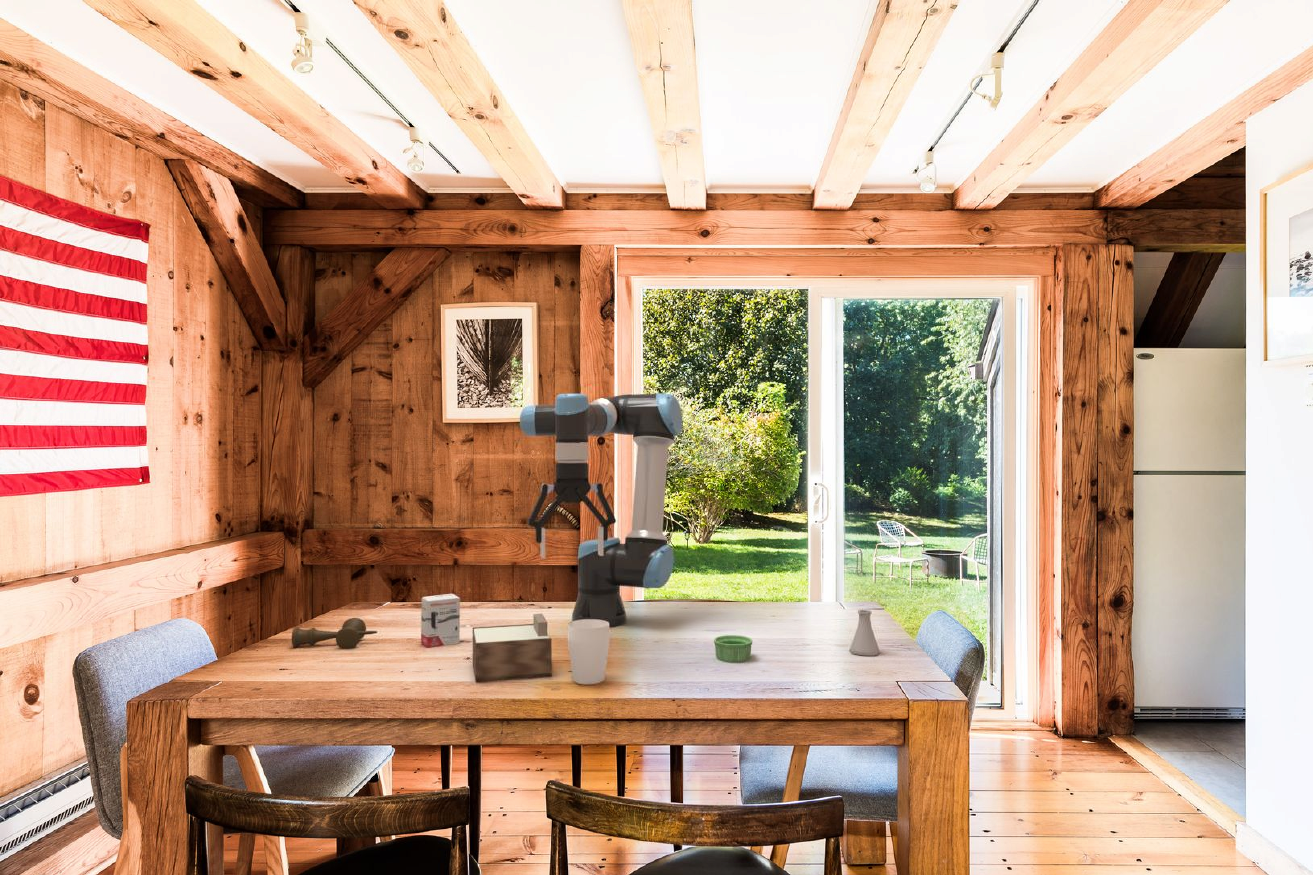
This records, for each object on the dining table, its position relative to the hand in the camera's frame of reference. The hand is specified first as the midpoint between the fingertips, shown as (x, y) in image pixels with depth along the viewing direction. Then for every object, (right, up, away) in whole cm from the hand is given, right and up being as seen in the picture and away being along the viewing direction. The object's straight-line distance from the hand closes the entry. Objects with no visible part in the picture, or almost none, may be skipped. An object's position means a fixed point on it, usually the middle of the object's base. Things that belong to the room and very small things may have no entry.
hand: (572, 556), depth 184 cm
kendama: (-61, -25, +18) cm, 68 cm away
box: (-13, -25, -4) cm, 28 cm away
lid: (-13, -17, -4) cm, 22 cm away
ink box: (-35, -25, +19) cm, 47 cm away
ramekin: (+37, -25, +6) cm, 45 cm away
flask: (+69, -25, +10) cm, 74 cm away
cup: (+5, -25, -12) cm, 28 cm away
